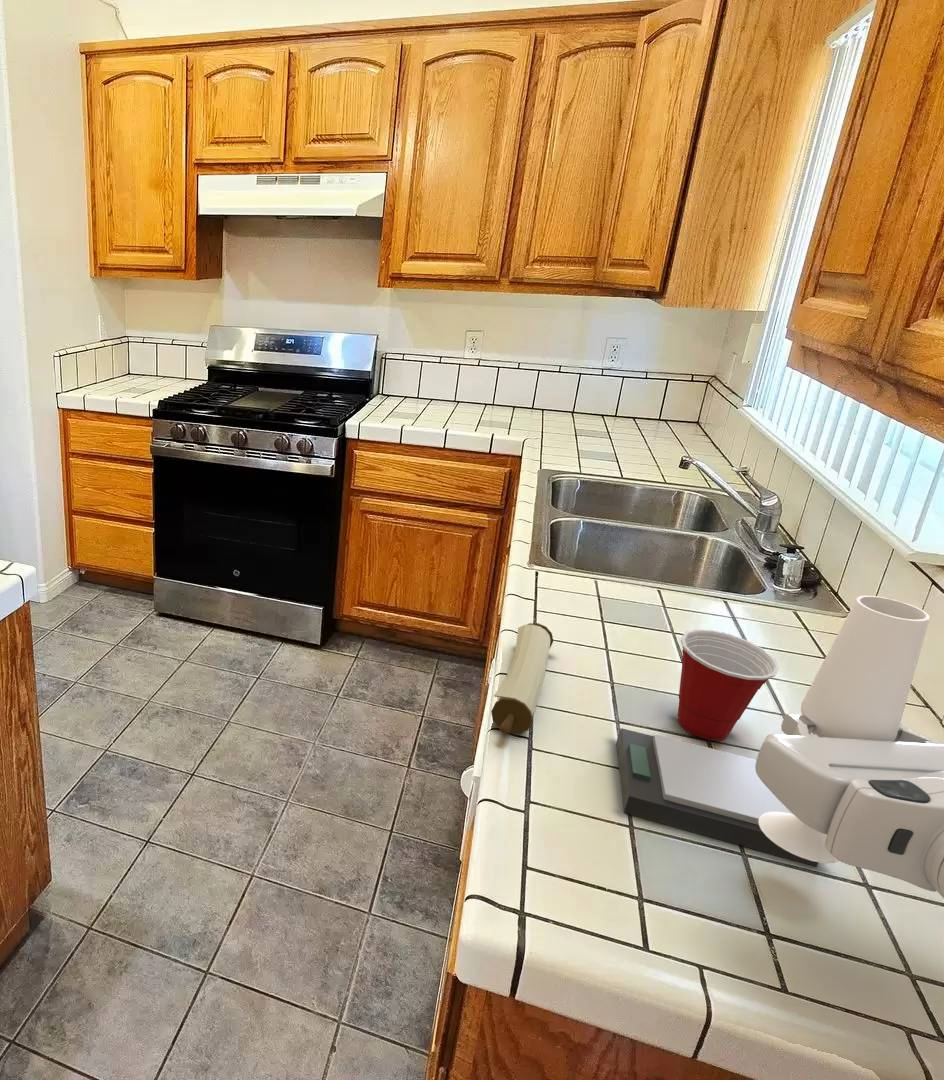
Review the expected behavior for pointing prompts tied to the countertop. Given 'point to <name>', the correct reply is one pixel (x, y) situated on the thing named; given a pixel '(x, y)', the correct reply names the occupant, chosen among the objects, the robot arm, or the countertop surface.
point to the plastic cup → (719, 681)
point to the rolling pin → (523, 680)
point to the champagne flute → (856, 696)
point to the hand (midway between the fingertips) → (835, 723)
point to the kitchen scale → (696, 790)
